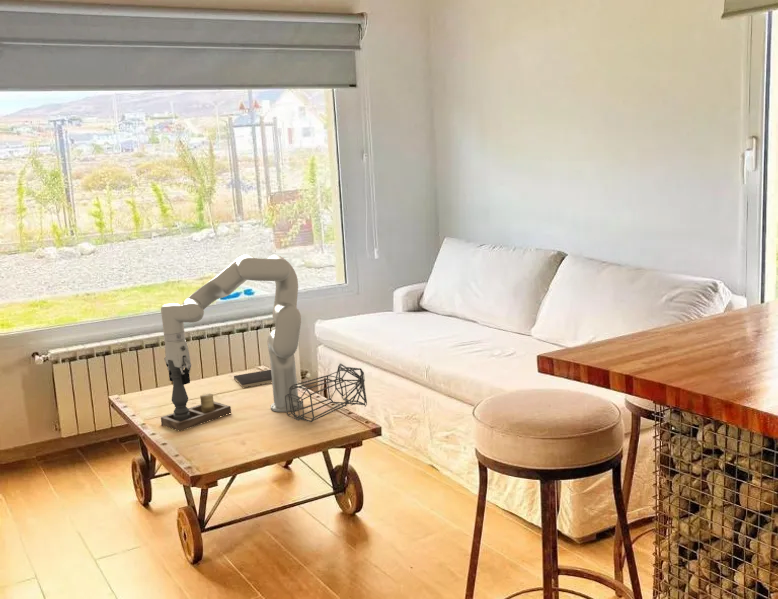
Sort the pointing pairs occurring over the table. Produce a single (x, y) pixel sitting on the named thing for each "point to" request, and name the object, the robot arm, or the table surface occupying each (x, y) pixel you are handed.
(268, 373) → the hardcover book
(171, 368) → the candle holder
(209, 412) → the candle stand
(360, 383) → the geometric lantern
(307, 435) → the table surface
